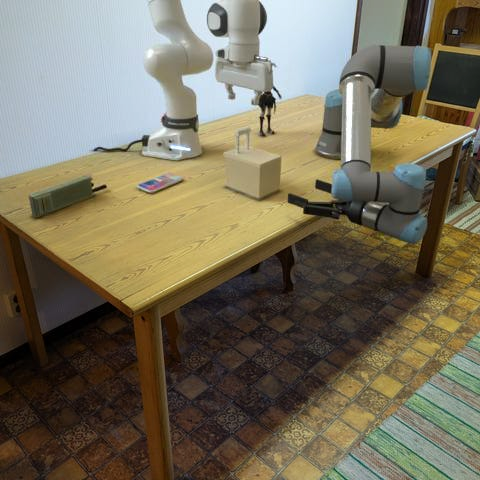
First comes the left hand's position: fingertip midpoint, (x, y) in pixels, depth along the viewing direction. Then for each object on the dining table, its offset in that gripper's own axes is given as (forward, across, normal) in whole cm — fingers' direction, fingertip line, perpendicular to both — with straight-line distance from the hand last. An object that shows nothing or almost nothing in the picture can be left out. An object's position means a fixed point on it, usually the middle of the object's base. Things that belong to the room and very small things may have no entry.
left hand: (243, 102), depth 151 cm
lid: (+17, -4, 0) cm, 17 cm away
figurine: (+27, +29, -46) cm, 61 cm away
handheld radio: (+27, +27, +45) cm, 59 cm away
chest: (+27, -5, 0) cm, 27 cm away
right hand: (+21, -24, 0) cm, 32 cm away
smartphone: (+27, +19, +18) cm, 38 cm away
